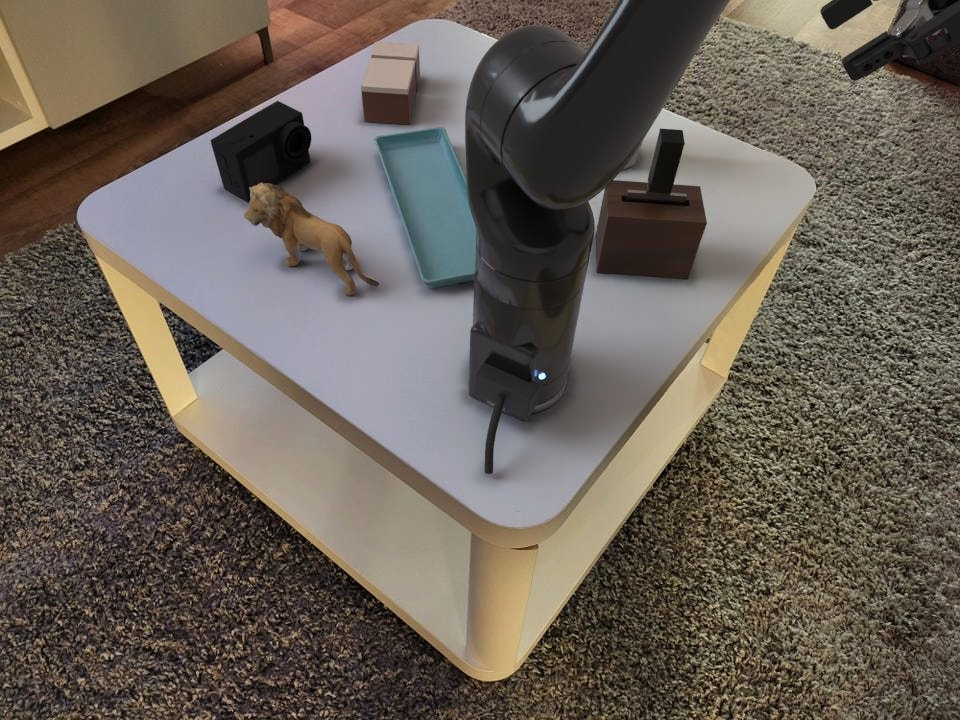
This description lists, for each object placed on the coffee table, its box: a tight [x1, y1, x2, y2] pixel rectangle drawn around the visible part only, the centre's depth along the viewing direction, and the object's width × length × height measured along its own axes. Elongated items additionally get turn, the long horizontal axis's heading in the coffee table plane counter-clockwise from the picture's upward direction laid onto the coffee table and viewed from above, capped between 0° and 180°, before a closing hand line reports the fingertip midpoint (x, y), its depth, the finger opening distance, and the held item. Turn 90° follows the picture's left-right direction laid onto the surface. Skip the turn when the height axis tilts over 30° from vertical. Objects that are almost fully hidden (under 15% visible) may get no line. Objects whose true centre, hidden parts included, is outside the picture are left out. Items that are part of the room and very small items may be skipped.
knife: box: [626, 128, 687, 206], centre depth 79 cm, size 2×6×16 cm, turn 86°
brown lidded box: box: [360, 57, 417, 126], centre depth 100 cm, size 7×6×5 cm
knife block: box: [594, 179, 708, 280], centre depth 82 cm, size 6×10×8 cm, turn 86°
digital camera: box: [210, 100, 312, 203], centre depth 89 cm, size 10×5×7 cm, turn 144°
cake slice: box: [370, 41, 421, 94], centre depth 104 cm, size 4×6×5 cm, turn 86°
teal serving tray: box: [373, 126, 476, 289], centre depth 88 cm, size 26×9×2 cm, turn 16°
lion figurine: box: [243, 183, 380, 296], centre depth 79 cm, size 15×5×9 cm, turn 66°
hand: (835, 45), depth 65 cm, fingers open, 8 cm apart
